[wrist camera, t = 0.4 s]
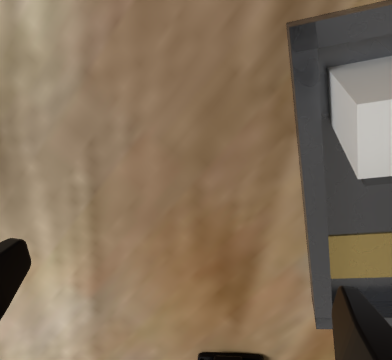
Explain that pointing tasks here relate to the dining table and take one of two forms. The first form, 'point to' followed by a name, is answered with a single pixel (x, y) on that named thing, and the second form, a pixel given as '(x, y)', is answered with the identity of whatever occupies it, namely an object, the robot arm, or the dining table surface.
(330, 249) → the grey rectangular tray
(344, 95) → the block
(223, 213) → the dining table surface
